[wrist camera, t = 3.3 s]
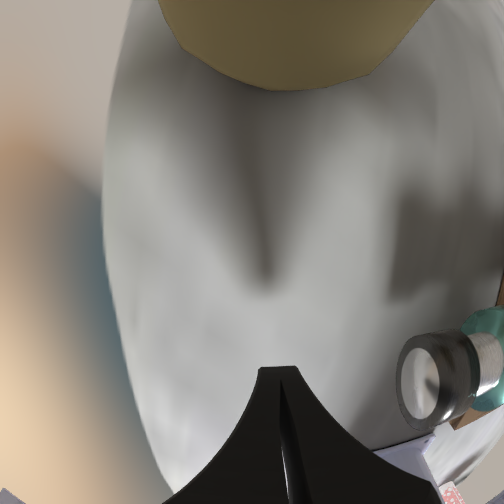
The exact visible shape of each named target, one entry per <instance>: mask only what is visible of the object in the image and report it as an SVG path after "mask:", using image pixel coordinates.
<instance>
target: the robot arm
mask: <svg viewBox="0 0 504 504" xmlns="http://www.w3.org/2000/svg"><path fill="white" fill-rule="evenodd" d="M435 437H436V436H435V434H434V433H432V434H429V435H427V436H424V437H421V438H418V439H415V440H412V441H409V442H406V443H403V444H400V445H396V446H393V447H390V448H386V449H382V450H378V451H374V452H372V451H371V450H369V449H368V448H366V447H365V446H364V445H362V444H361V443H360V442H359V441H357V440H356V439H355V438H354V437H353V436H351V435H350V434H349V433H348V432H347V431H346V430H345V429H344V428H343V427H342V426H341V425H340V424H339V423H338V422H337V421H336V420H335V419H334V418H333V417H332V416H331V415H330V413H329V412H328V411H327V410H326V409H325V408H324V406H323V405H322V404H321V403H320V401H319V400H318V399H317V397H316V396H315V395H314V393H313V392H312V391H311V389H310V388H309V386H308V385H307V383H306V382H305V380H304V378H303V377H302V375H301V373H300V371H299V369H298V368H297V367H296V366H278V367H261V368H260V369H258V376H257V380H256V384H255V387H254V390H253V392H252V395H251V397H250V400H249V402H248V404H247V406H246V409H245V411H244V412H243V414H242V416H241V418H240V420H239V422H238V423H237V425H236V427H235V429H234V430H233V432H232V433H231V435H230V436H229V438H228V439H227V441H226V442H225V443H224V445H223V446H222V448H221V449H220V450H219V451H218V452H217V454H216V455H215V456H214V457H213V459H212V460H211V461H210V462H209V463H208V464H207V465H206V466H205V468H204V469H203V470H202V471H201V472H200V473H199V474H197V475H196V476H195V477H194V478H193V479H192V480H191V481H190V482H189V483H188V484H187V485H186V486H185V487H183V488H182V489H181V490H180V491H178V492H177V493H176V494H174V495H173V496H172V497H171V498H169V499H168V500H166V501H165V502H164V503H162V504H445V502H444V499H443V497H442V495H441V493H440V490H439V488H438V486H437V484H436V482H435V480H434V477H433V475H432V473H431V471H430V469H429V467H428V465H427V463H426V461H425V459H424V457H423V455H424V453H425V452H426V450H427V449H428V448H429V446H430V445H431V443H432V442H433V440H434V439H435ZM281 446H282V447H281ZM282 451H283V455H282ZM283 457H284V462H285V468H286V474H287V481H288V493H287V486H286V479H285V471H284V463H283ZM288 497H289V500H288ZM0 504H25V503H24V502H22V501H21V500H20V499H18V498H17V497H15V496H14V495H13V494H12V493H10V492H9V491H8V490H6V489H5V488H3V489H2V490H1V492H0ZM486 504H504V490H503V491H502V492H501V493H500V494H498V495H497V496H496V497H494V498H493V499H492V500H490V501H489V502H487V503H486Z"/></svg>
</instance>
